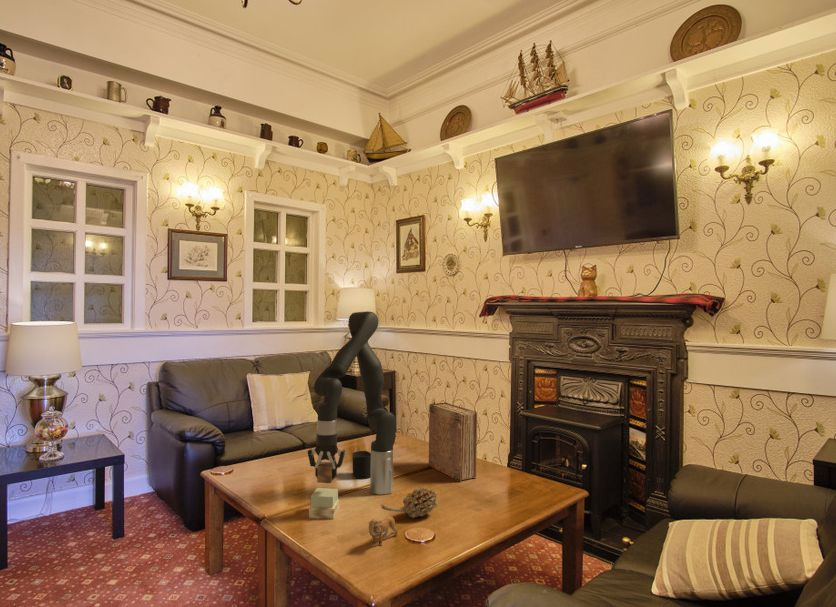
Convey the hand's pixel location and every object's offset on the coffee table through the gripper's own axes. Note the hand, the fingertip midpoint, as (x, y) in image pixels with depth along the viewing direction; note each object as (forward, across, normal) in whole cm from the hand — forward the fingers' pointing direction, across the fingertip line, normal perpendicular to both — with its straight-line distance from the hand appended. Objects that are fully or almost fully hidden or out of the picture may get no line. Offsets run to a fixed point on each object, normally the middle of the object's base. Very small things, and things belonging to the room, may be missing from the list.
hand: (325, 477), depth 184 cm
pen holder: (+13, -6, -42) cm, 44 cm away
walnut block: (+1, 0, 0) cm, 1 cm away
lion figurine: (+13, -24, +19) cm, 34 cm away
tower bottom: (+13, 0, 0) cm, 13 cm away
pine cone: (+13, -31, 0) cm, 34 cm away
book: (+13, -46, -52) cm, 71 cm away
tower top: (+9, 0, 0) cm, 9 cm away
